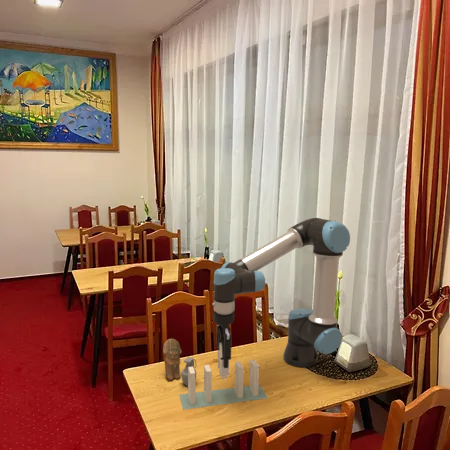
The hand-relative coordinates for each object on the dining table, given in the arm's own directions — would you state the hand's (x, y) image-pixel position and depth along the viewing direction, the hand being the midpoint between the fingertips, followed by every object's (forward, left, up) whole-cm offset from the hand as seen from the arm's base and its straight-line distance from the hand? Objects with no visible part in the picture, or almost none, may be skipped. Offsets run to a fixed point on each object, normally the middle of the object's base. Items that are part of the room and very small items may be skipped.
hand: (223, 371), depth 157 cm
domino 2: (+6, 0, -10) cm, 12 cm away
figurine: (+16, -20, -11) cm, 28 cm away
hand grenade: (+11, -12, -11) cm, 20 cm away
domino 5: (-12, 0, -10) cm, 16 cm away
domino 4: (-6, 0, -10) cm, 12 cm away
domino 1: (+12, 0, -10) cm, 16 cm away
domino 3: (0, 0, -2) cm, 2 cm away
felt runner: (0, 0, -11) cm, 11 cm away
